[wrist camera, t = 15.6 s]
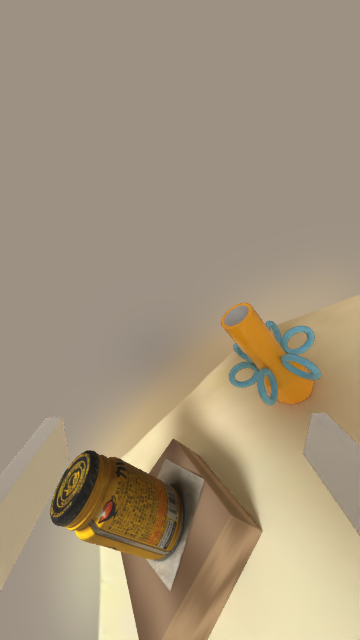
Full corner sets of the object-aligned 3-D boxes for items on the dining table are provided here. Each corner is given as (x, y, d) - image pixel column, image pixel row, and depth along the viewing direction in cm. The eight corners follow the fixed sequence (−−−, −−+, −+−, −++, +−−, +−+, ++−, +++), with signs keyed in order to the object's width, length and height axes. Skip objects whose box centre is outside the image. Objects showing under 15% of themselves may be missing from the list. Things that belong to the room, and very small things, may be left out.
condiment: (132, 540, 24) (34, 509, 19) (166, 458, 28) (94, 416, 23) (172, 592, 18) (49, 566, 13) (206, 480, 23) (124, 431, 18)
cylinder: (271, 440, 27) (202, 376, 21) (242, 382, 36) (188, 325, 30) (364, 390, 24) (314, 299, 18) (307, 341, 33) (261, 269, 27)
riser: (198, 455, 32) (173, 438, 30) (262, 531, 22) (230, 514, 19) (147, 534, 29) (114, 522, 27) (192, 667, 19) (145, 668, 16)
